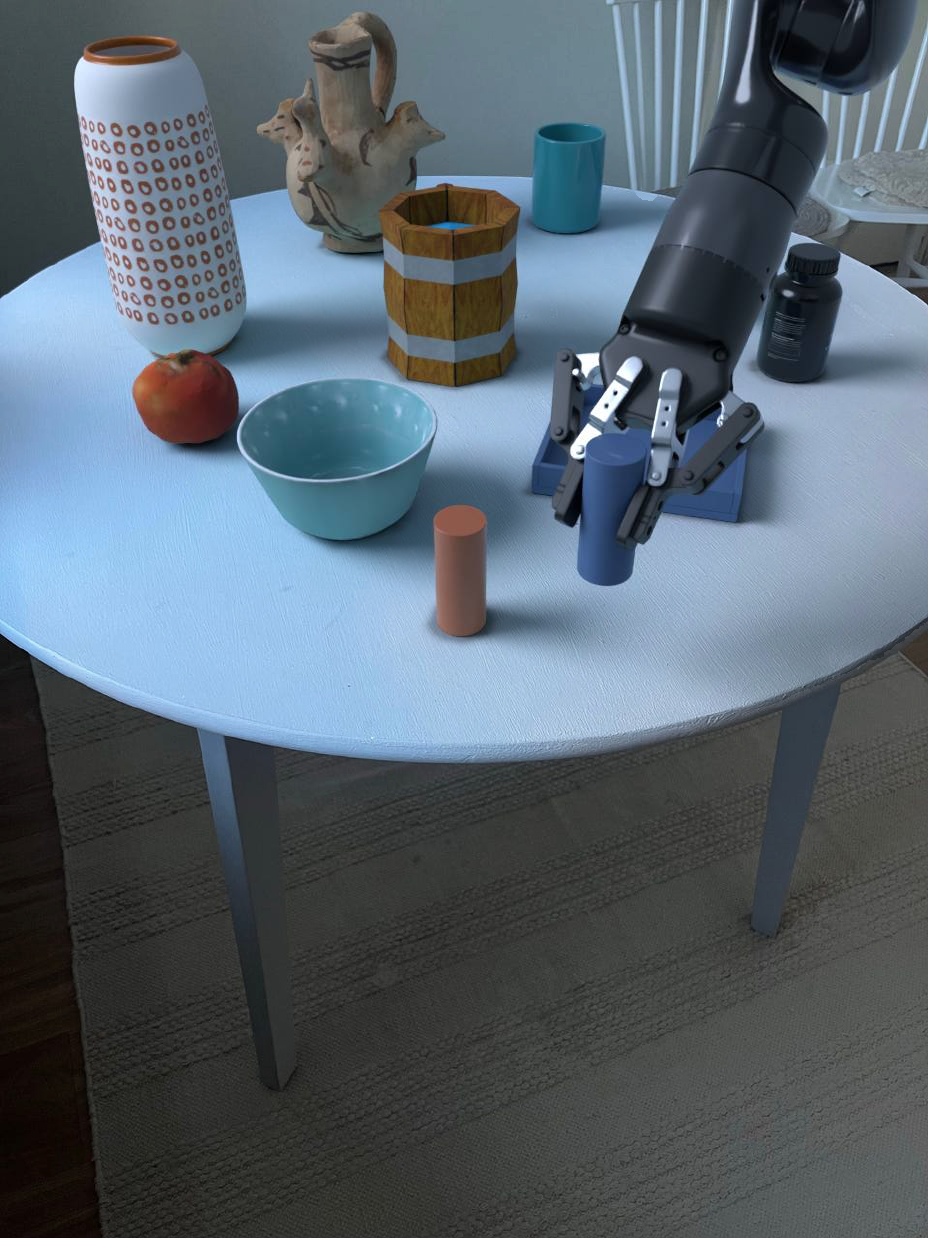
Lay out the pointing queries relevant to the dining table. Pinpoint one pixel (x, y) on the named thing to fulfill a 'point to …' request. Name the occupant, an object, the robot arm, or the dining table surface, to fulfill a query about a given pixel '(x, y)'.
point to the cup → (567, 176)
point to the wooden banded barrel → (450, 283)
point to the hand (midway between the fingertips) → (594, 533)
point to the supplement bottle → (801, 314)
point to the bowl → (340, 453)
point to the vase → (160, 195)
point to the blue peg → (608, 506)
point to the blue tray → (712, 504)
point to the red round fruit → (186, 397)
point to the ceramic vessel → (349, 136)
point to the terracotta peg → (460, 569)
